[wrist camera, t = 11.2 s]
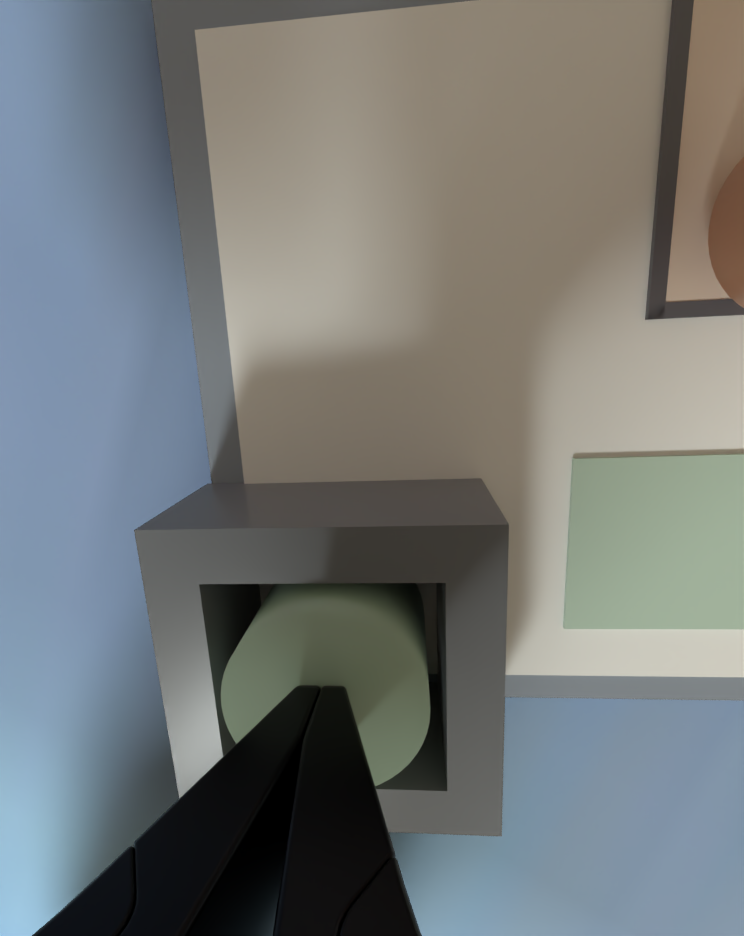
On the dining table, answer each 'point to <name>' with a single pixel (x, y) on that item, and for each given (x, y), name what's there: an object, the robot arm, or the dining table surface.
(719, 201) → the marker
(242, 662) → the button
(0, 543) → the dining table surface
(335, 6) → the square board tray
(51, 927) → the robot arm
